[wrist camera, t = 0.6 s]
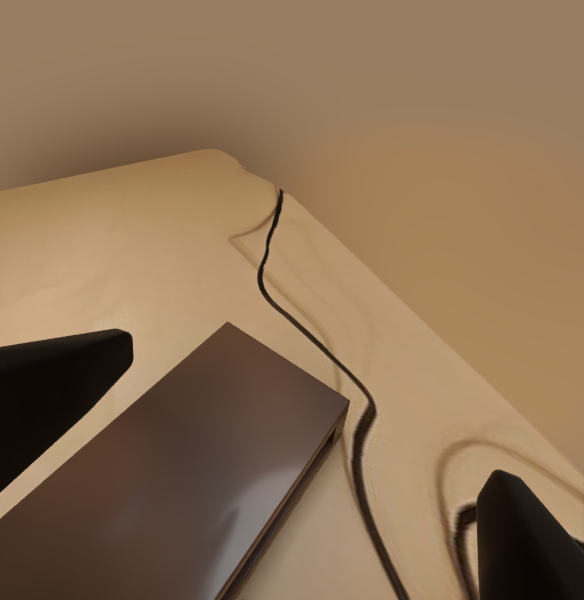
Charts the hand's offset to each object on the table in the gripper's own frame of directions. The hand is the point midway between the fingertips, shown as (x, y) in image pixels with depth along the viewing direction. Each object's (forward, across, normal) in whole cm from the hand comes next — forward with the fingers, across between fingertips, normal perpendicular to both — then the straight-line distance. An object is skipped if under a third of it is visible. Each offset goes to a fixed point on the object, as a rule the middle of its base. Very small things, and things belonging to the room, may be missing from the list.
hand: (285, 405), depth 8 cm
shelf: (+6, +5, +14) cm, 16 cm away
